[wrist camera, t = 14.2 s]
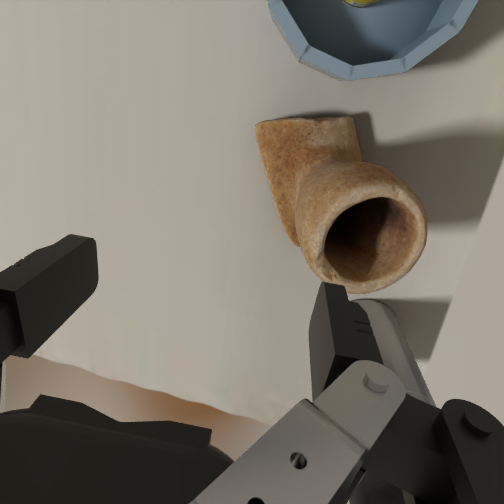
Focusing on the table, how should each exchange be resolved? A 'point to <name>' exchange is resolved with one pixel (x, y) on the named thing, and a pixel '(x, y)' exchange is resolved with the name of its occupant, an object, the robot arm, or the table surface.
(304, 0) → the slate bowl
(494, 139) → the table surface
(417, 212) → the stone cup
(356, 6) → the supplement bottle
